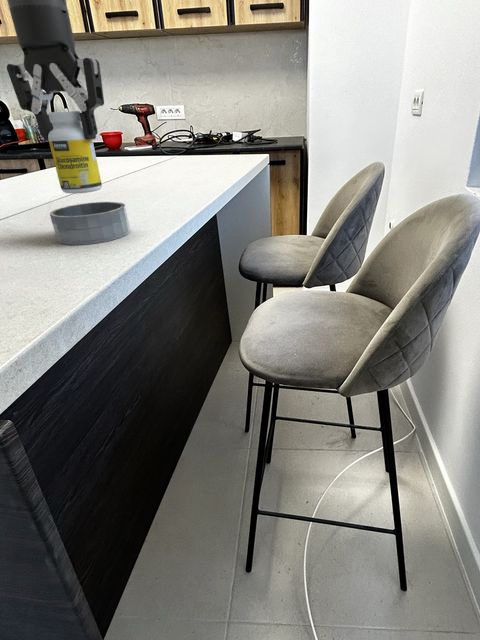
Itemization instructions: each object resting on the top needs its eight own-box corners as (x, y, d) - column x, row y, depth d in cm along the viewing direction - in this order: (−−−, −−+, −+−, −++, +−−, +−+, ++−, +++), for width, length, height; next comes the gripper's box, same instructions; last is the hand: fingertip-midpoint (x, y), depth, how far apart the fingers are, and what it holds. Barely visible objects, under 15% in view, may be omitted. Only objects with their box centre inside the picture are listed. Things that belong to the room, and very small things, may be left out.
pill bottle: (54, 194, 70) (31, 113, 64) (75, 188, 75) (56, 112, 69) (90, 194, 68) (71, 110, 63) (110, 187, 74) (93, 110, 68)
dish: (42, 244, 71) (33, 217, 69) (81, 226, 82) (75, 202, 79) (109, 245, 69) (102, 216, 67) (141, 226, 79) (136, 201, 77)
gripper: (-26, 7, 58) (15, 144, 66) (69, -4, 55) (100, 140, 63) (11, 17, 64) (45, 140, 72) (99, 7, 62) (123, 136, 70)
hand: (70, 139), depth 68 cm, fingers closed on pill bottle, 6 cm apart
